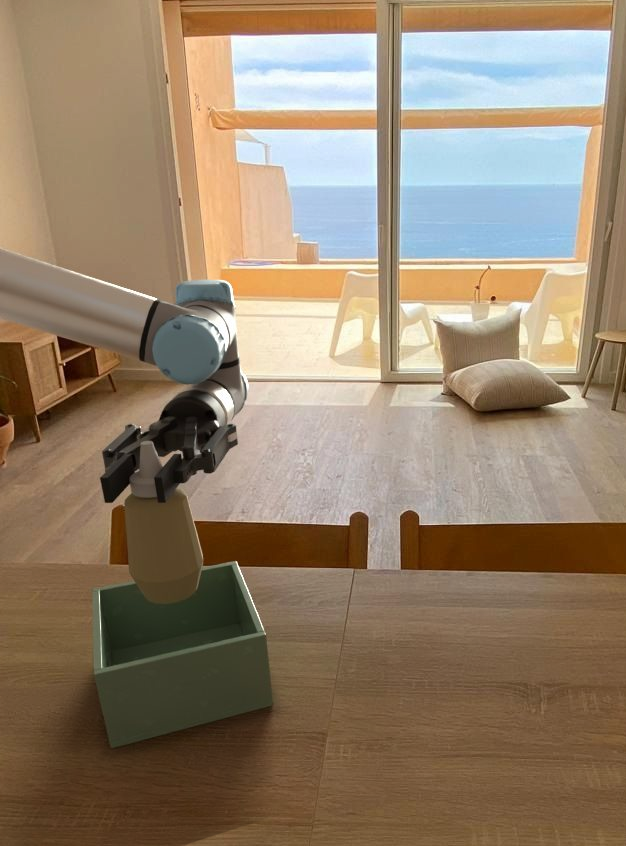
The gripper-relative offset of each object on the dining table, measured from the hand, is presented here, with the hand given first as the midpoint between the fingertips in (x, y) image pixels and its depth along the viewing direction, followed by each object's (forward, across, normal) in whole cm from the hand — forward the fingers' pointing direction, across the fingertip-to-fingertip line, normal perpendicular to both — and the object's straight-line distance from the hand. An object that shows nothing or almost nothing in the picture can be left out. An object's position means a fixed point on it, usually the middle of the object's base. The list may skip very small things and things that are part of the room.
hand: (133, 490), depth 68 cm
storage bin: (-5, 0, -27) cm, 28 cm away
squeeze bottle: (-5, 0, -15) cm, 16 cm away
